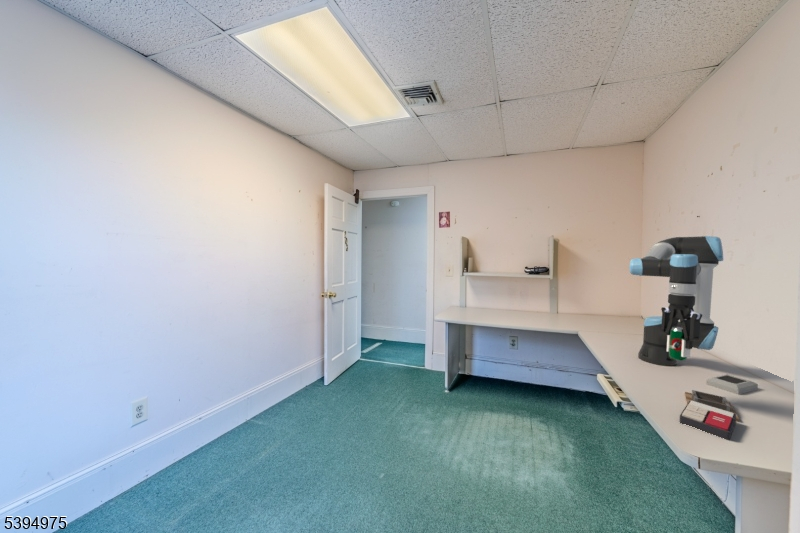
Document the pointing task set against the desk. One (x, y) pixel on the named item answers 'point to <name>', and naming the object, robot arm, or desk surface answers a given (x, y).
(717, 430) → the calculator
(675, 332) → the soda can
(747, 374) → the desk surface
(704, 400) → the can holder
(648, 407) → the desk surface
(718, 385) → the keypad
